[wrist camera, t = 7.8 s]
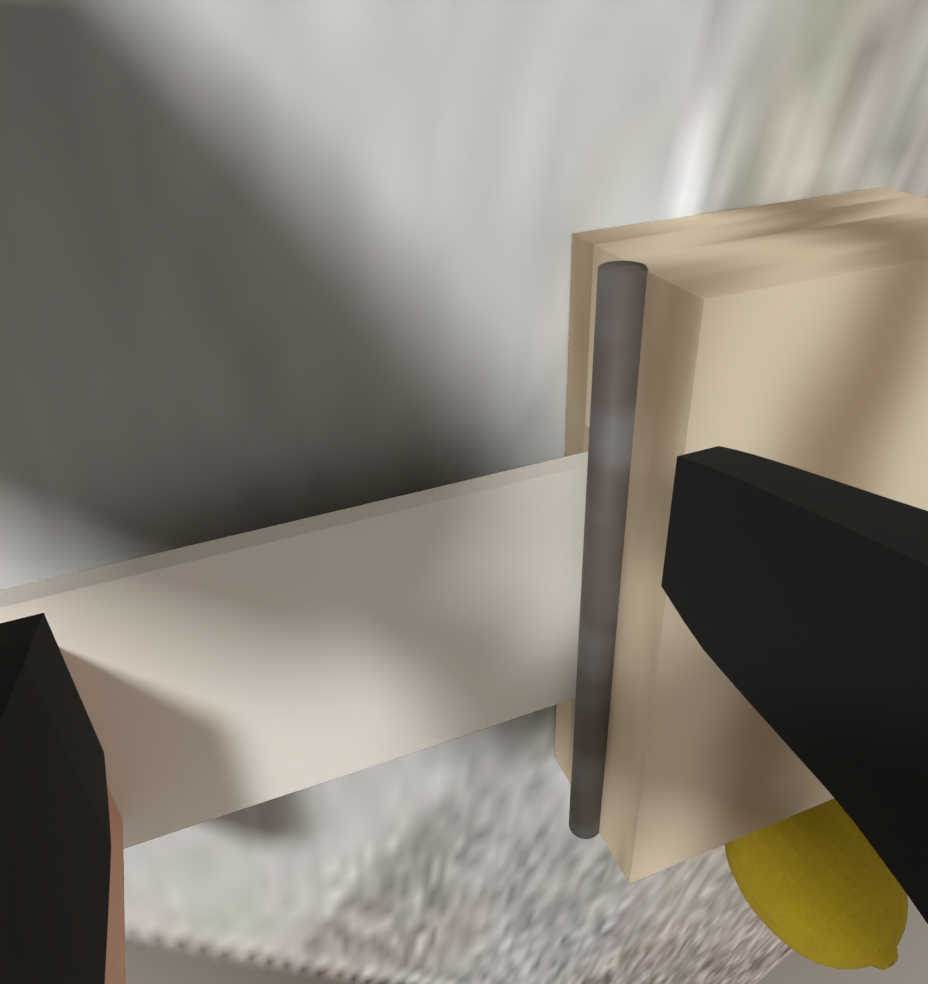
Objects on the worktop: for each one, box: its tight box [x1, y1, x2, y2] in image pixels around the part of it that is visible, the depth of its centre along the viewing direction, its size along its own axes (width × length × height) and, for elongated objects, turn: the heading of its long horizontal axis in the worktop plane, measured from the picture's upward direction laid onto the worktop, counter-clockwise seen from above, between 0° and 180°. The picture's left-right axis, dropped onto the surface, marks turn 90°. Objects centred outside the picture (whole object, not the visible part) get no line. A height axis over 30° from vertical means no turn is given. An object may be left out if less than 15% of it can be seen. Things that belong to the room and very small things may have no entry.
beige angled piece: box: [0, 452, 588, 984], centre depth 18 cm, size 15×8×6 cm, turn 92°
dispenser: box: [555, 188, 928, 883], centre depth 22 cm, size 10×18×5 cm, turn 2°
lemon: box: [725, 798, 908, 970], centre depth 30 cm, size 6×6×8 cm
